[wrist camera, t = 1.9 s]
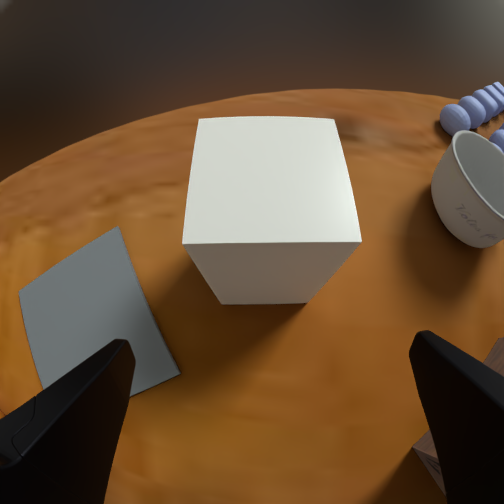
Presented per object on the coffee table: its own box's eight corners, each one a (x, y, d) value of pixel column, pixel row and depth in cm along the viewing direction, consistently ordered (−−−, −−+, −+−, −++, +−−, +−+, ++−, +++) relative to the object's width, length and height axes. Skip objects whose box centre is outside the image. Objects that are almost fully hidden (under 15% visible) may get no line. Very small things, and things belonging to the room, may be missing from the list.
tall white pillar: (307, 302, 21) (361, 242, 10) (221, 304, 21) (182, 243, 10) (302, 225, 23) (333, 119, 12) (223, 226, 23) (199, 119, 12)
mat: (181, 373, 19) (179, 373, 19) (60, 422, 17) (57, 423, 16) (119, 228, 24) (117, 226, 23) (21, 292, 21) (18, 291, 21)
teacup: (424, 249, 22) (473, 208, 15) (411, 160, 26) (442, 112, 19) (508, 268, 21) (553, 241, 14) (492, 190, 25) (525, 156, 18)
